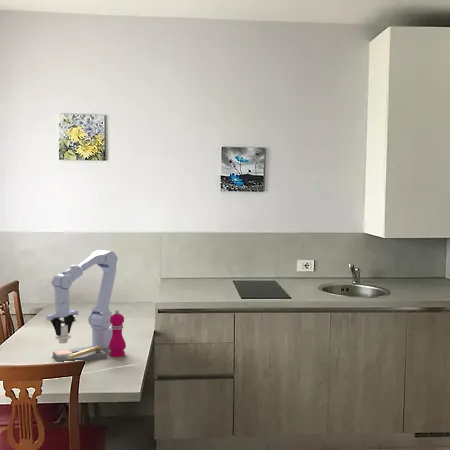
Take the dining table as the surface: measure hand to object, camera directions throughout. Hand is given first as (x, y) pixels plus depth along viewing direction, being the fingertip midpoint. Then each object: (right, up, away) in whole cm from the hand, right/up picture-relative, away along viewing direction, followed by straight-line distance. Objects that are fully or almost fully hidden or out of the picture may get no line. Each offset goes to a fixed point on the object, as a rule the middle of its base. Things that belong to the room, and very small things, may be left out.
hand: (62, 334), depth 241 cm
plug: (0, -3, 0) cm, 3 cm away
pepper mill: (+22, -10, +4) cm, 25 cm away
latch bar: (+11, -7, -5) cm, 14 cm away
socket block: (+7, -10, +1) cm, 12 cm away
